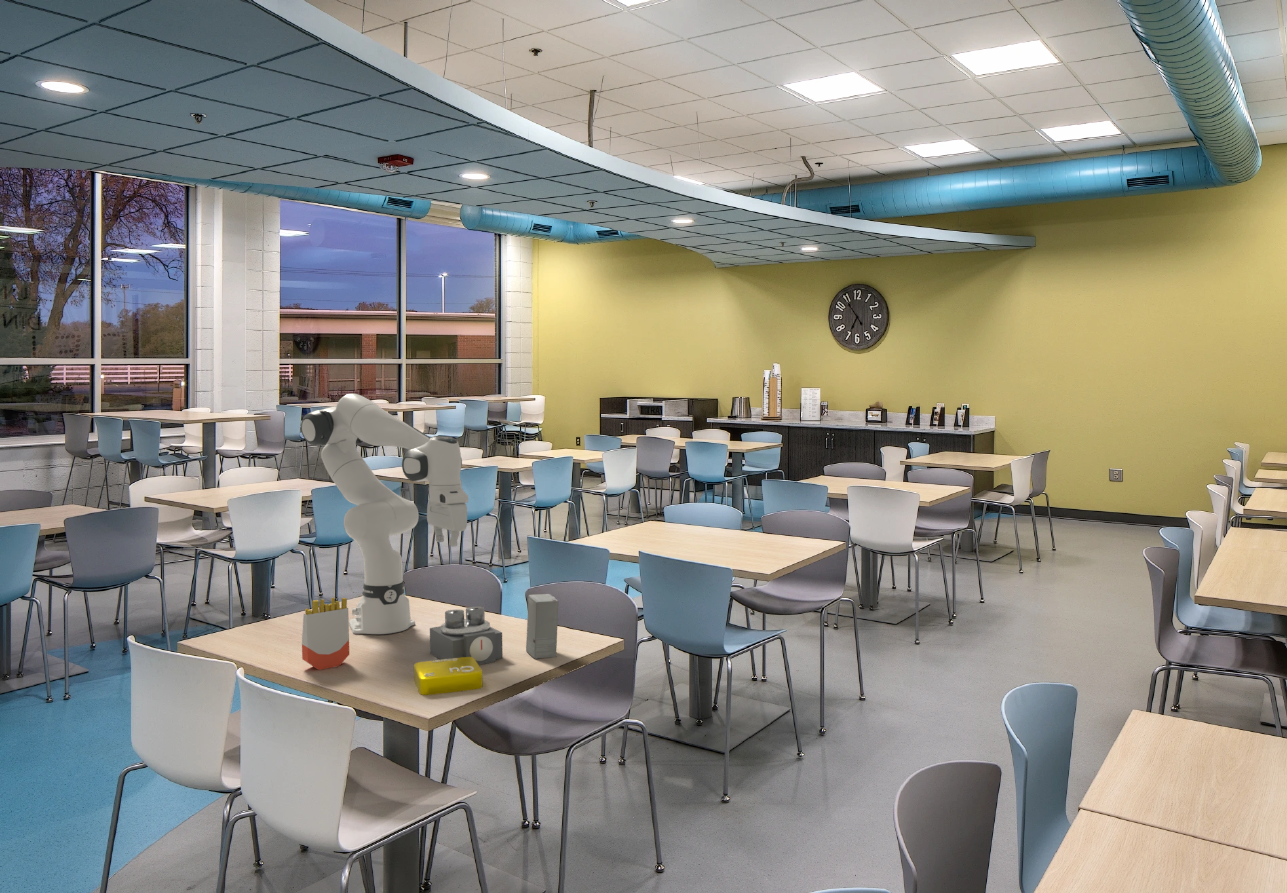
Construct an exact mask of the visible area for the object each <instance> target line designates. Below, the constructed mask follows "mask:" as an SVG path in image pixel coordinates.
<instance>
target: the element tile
mask: <svg viewBox="0 0 1287 893" xmlns="http://www.w3.org/2000/svg"><path fill="white" fill-rule="evenodd" d="M413 674H414V675H413V679H414V680H413V681H414V683H415V686H416V688H417V690H418V691H417V692H418V693H419V695H422V696H432V695H433V696H434V695H441V694H449V693H457V692H466V691H475V690H480V689H482V688H483V685H484V684H483V683H484V682H483V674H484V673H483V669H482V668H481V667H480V665H478V664H477V662H476V660H475V659H474V658H472V657H462V658H452V659H443V660H442V659H441V660H440V659H435V660H426V661H425V660H424V661H418V662H417V661H416V662H415V664H413Z"/></svg>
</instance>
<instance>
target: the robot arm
mask: <svg viewBox="0 0 1287 893" xmlns="http://www.w3.org/2000/svg"><path fill="white" fill-rule="evenodd" d="M300 429H301V434H302V437H303V439H304V440H305V441H306V442H307V443H308V444H309V445H311V446H324V447H323V448H322V450H321V453H320V456H321V457H320V458H321V460H322V463H323V465H324V468H325V470H326V471H327V474H328V476H329V477H330V478H331V481H332V482H333V484H335V486H336V487H337V489H338V490H339V492H340V494H341V495H342V496H343V497H344V499H345V500H346V501H348V502H349V503H351V504H353V505H355V506H353V507H351V508H349V509H348V510H347V511H346V512H345V514H344V517H343V527H344V531H345V533H346V534H347V535H348V537H349V538H351V539H352V540H354V542H356V544H357V545H358V548H359V550H360V552H361V555H362V560H363V570H364V571H363V572H364V583H363V584H362V597H361V598H360V600H359V601H358V602H357V604H356V607H353V608H352V609H351V611H352V616H353V617H354V618H350V619H349V627H350V629H351V632H352V633H353V634H355V635H359V634H360V635H361V634H364V635H387V634H388V635H389V634H395V633H399V632H403V631H406V630H407V629H409V628H410V627H412V626H415V625H416V621H415V620H414V619H411V607H410V600H409V598H408V597H407V596H406V595H405V588H406V587H405V586H406V585H405V581H404V578H403V558H402V555H401V553H399V552H398V551H397V550H395V549H393V546H392V545H391V541H390V537H391V536H397V535H402V534H405V533H406V532H408V531H410V530H412V529H414V528H415V527H416V526H417V524H418V522H419V510H418V507H417V506H416V503H414V502H413V501H411V500H409V499H406V498H404V497H402V496H401V495H398V493H395V492H394V491H393V490H391V489H390V488H388V486H386V485H385V484H384V483H383V482H382V481H381V480H380V479H378V477H377V476H376V474H375V473H374V472H373V471H372V469H371V468H370V467H369V465H368V464H367V462H366V461H365V459H364V458H363V457H362V456H361V455H360V452H358V449H357V446H356V445H357V444H362V443H363V442H364V443H366V444H369V445H371V446H374V447H375V446H377V447H394V448H396V447H397V448H402V449H406V452H405V453H404V455H403V457H402V460H401V461H402V462H401V468H402V472H403V475H404V476H405V477H406V479H408V480H409V481H411V482H417V483H418V482H428V483H429V484H428V490H429V491H428V492H429V493H428V494H429V495H428V497H429V498H428V501H427V506H426V507H427V509H426V521H427V524H428V525H430V526H433V532H434V534H435V541H436V542H437V543H444V541H445V536H444V535H443V529H444V530H448V531H449V534H450V539H449V540H448V545H449V546H450V547H452V548H453V547H457V546H458V539H459V536H460V532H465V531H466V529H467V525H468V506H467V503H469V495H468V494H467V493H466V492H465V491H464V489H463V487H462V480H461V471H462V466H463V459H462V454H461V447H460V445H459V441H458V440H457V439H456V438H454V437H451V436H447V435H446V436H444V435H434V436H432V437H431V436H429V435H427V434H426V433H424V432H422V431H420V430H419V429H418V428H416V427H414V426H412V425H410V424H408V423H406V422H404V421H403V420H401V419H400V418H397V417H395V416H394V415H392V414H390V413H389V412H388V411H386V410H384V409H383V408H382V407H381V406H379V405H378V404H377V403H375V402H374V401H372V400H370V399H368V398H367V397H365V396H363V395H360V394H358V393H347V394H345V395H344V396H342V397H341V398H340V399H338V401H337V404H336V405H333V406H331V407H327V408H323V409H320V410H318V409H317V410H316V409H315V410H313V411H310V412H309V413H306V414H305V415H303V418H302V420H301V424H300ZM355 616H356V617H355Z"/></svg>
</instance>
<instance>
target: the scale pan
mask: <svg viewBox="0 0 1287 893" xmlns="http://www.w3.org/2000/svg"><path fill="white" fill-rule="evenodd" d="M440 626H441V632H442V633H444V634H448V635H456V636H463V635H467V634H472V633H478V632H484V631H488V630H489V629H490V627H491V622H489V620H485V623H484V624H481V625H467V624H466V618H464V627H462V628H458V629H448V628H446V627H445V622H444V623H442V624H441V625H440Z"/></svg>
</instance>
